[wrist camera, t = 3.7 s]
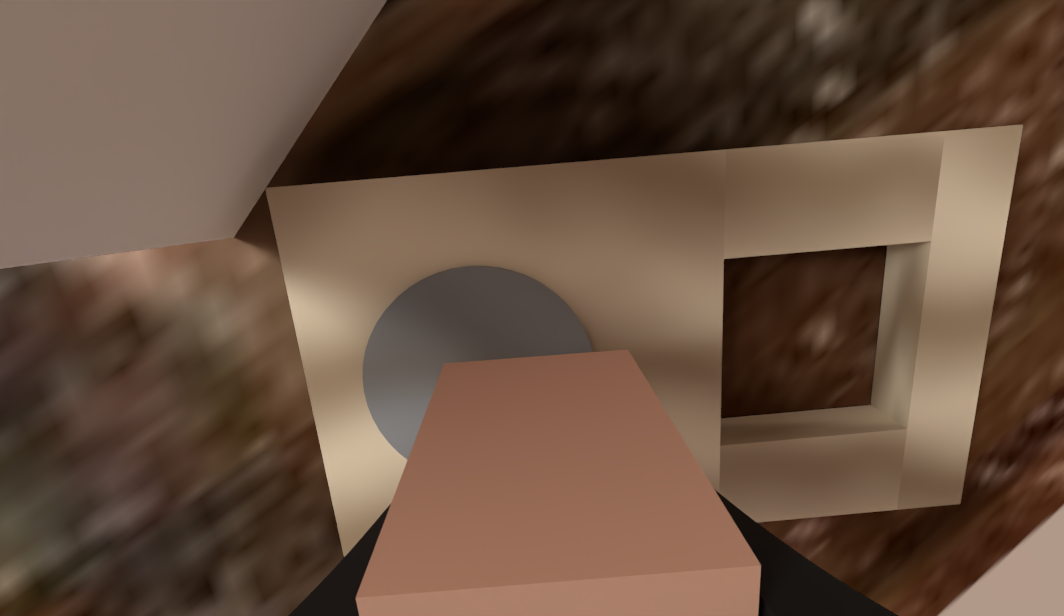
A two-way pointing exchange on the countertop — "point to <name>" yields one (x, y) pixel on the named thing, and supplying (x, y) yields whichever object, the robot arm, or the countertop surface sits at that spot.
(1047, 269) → the countertop surface
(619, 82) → the countertop surface
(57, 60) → the milk
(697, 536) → the terracotta block
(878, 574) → the countertop surface
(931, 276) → the pocket board
